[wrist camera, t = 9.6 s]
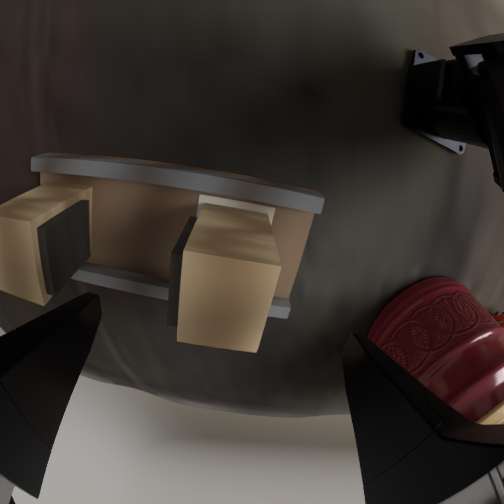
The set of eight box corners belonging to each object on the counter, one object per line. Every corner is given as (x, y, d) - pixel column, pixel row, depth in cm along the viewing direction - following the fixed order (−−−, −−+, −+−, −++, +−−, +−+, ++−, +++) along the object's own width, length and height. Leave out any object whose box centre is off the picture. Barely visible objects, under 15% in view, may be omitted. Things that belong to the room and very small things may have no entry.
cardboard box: (267, 213, 18) (281, 266, 12) (252, 280, 20) (256, 352, 14) (195, 201, 17) (168, 247, 11) (187, 270, 19) (165, 339, 13)
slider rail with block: (316, 190, 18) (361, 235, 11) (283, 301, 22) (299, 380, 15) (48, 152, 16) (-26, 177, 9) (52, 257, 20) (-1, 311, 13)
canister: (480, 296, 24) (568, 403, 8) (412, 377, 28) (464, 493, 12) (419, 250, 21) (557, 409, 5) (335, 359, 26) (384, 527, 10)
